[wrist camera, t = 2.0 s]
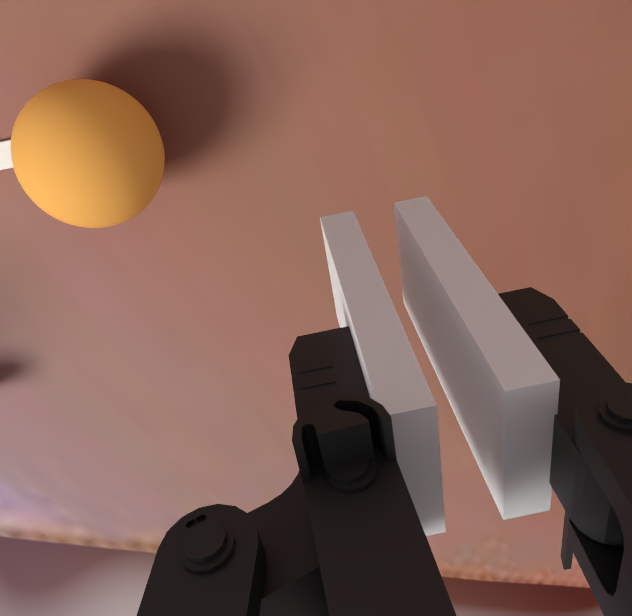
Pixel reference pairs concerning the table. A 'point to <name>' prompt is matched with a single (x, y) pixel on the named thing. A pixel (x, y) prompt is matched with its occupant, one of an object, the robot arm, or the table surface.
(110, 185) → the ball
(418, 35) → the table surface
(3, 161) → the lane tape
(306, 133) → the table surface
